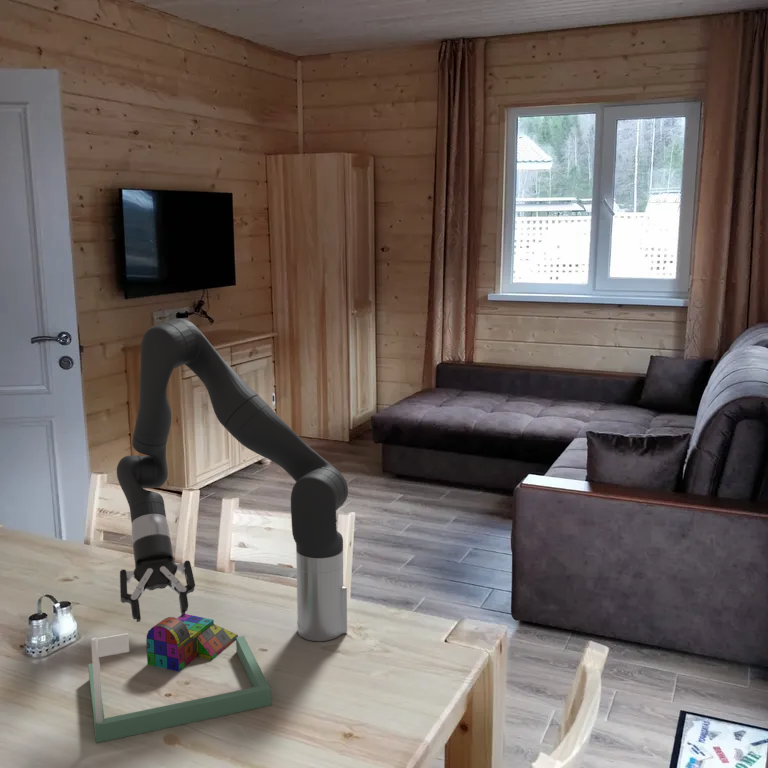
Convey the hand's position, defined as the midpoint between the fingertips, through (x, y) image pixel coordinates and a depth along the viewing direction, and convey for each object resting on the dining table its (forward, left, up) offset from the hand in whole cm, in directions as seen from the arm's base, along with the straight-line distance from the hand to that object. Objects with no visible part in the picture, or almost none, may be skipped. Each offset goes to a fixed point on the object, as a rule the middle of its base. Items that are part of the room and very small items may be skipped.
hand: (161, 616), depth 160 cm
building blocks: (-5, +7, -5) cm, 10 cm away
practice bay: (0, +20, -5) cm, 21 cm away
